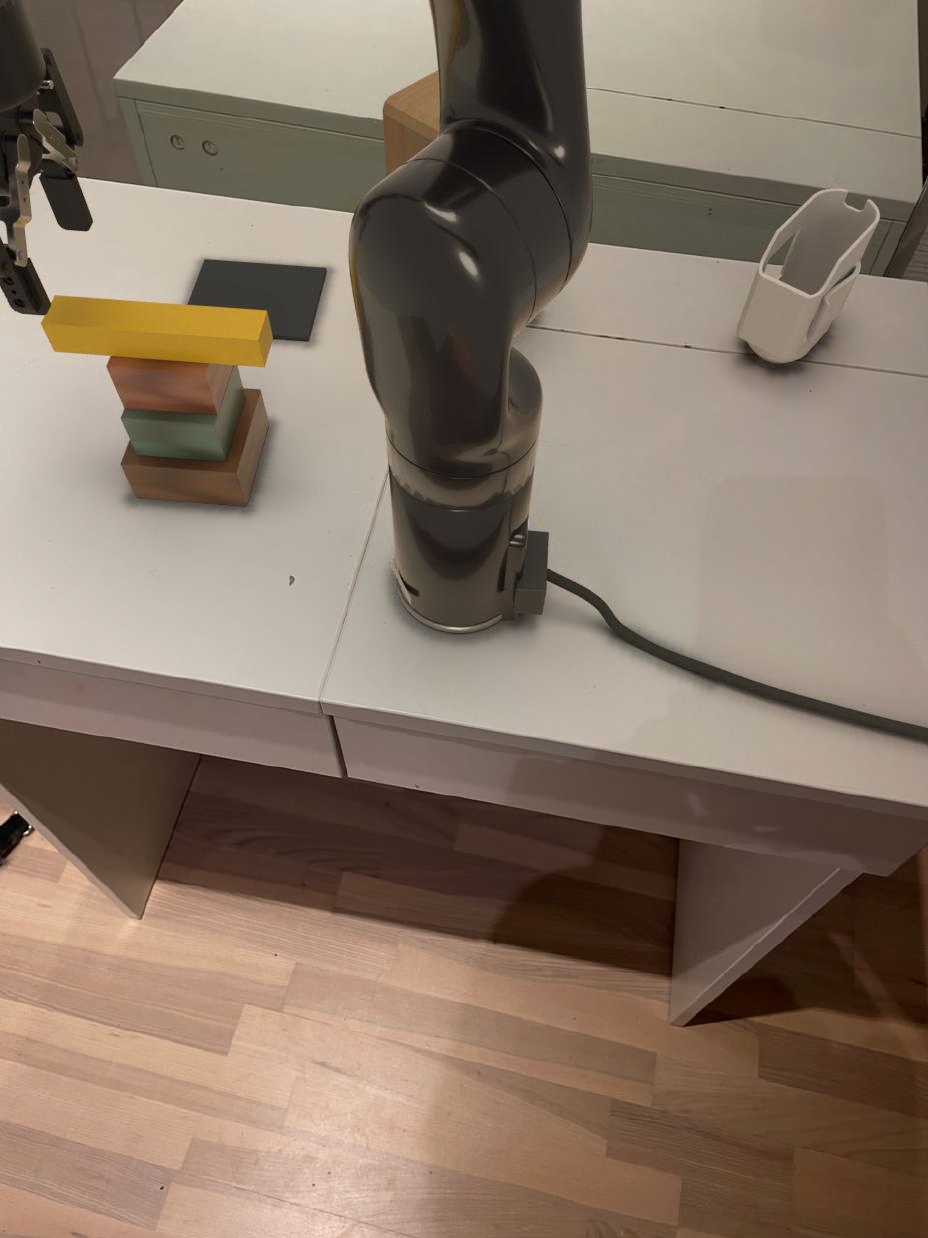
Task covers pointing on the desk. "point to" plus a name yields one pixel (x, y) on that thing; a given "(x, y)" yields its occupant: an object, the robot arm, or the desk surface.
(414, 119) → the wooden block
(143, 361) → the toy tower
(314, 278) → the rubber mat
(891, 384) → the desk surface
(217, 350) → the yellow bar
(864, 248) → the cable organizer
